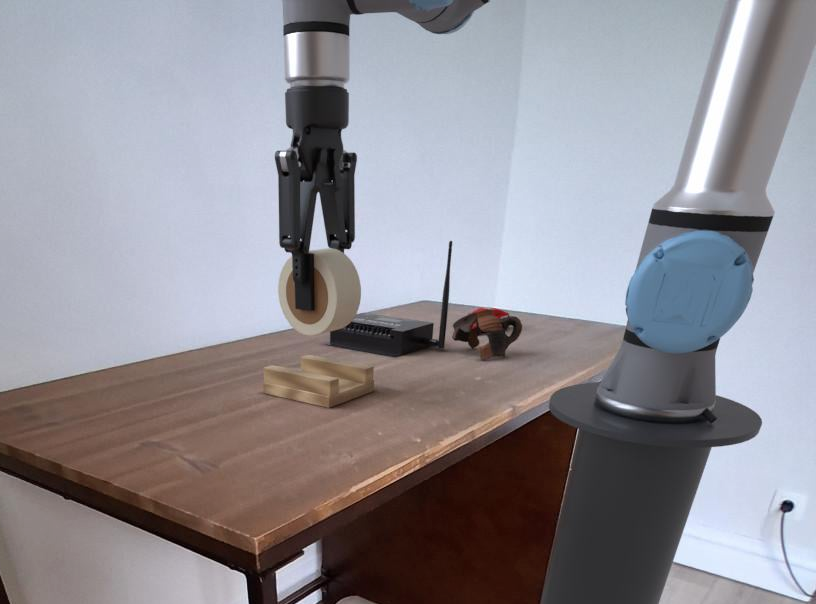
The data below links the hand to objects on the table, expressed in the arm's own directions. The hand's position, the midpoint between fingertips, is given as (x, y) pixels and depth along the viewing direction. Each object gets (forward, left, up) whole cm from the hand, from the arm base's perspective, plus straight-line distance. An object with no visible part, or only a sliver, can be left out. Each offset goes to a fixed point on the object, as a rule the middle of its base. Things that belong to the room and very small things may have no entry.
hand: (319, 305), depth 91 cm
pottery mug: (-8, -38, -12) cm, 40 cm away
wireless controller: (+9, -33, -12) cm, 36 cm away
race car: (+2, -57, -12) cm, 58 cm away
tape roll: (0, 0, -3) cm, 3 cm away
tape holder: (0, 0, -11) cm, 11 cm away
